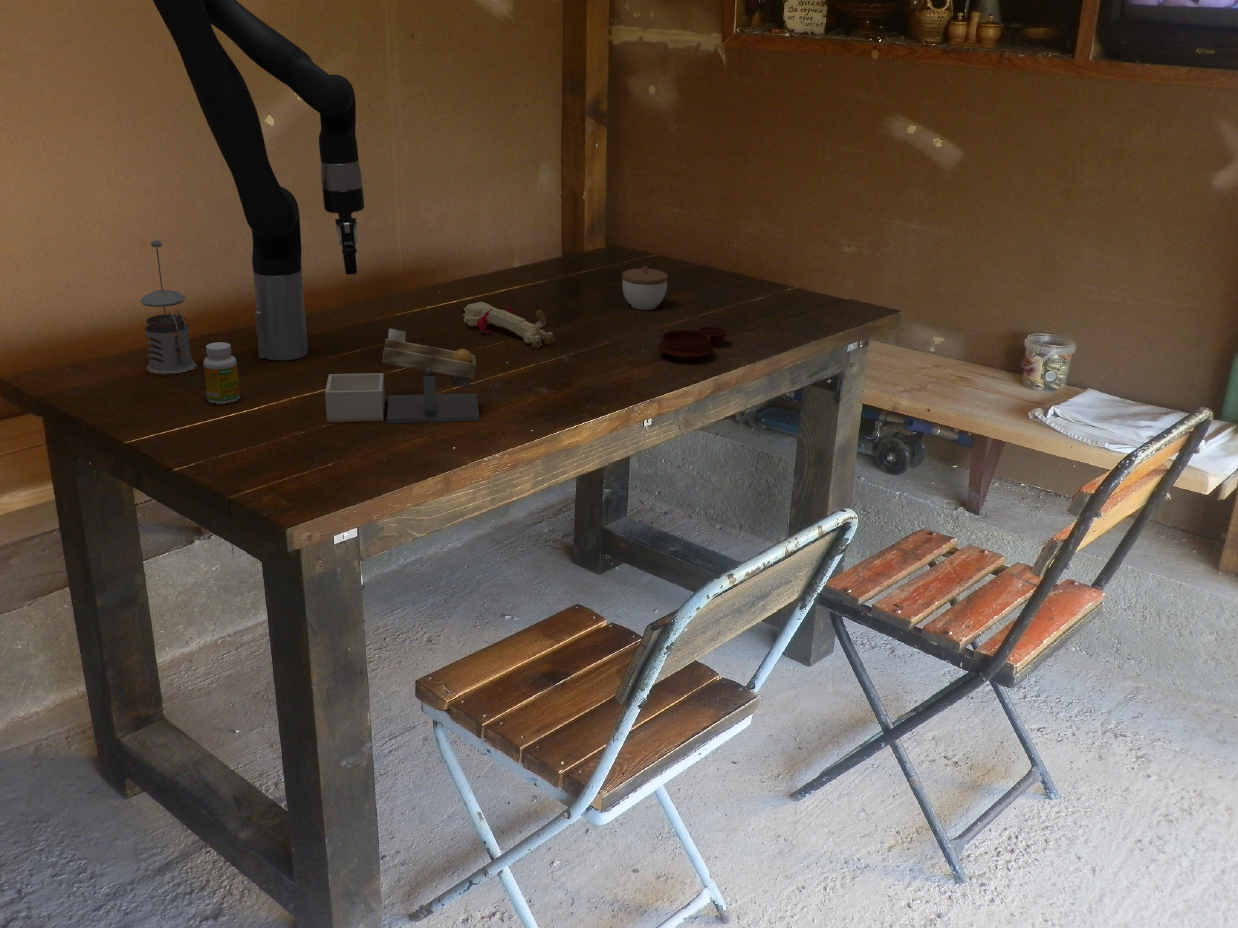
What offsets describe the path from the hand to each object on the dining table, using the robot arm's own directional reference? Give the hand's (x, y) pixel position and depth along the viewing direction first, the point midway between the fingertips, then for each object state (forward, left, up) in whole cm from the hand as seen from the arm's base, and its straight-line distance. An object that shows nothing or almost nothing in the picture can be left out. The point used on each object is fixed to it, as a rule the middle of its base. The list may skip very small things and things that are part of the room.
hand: (350, 268), depth 236 cm
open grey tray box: (+2, -32, -18) cm, 37 cm away
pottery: (+70, -1, -18) cm, 72 cm away
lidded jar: (+65, +34, -18) cm, 75 cm away
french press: (-34, -6, -18) cm, 39 cm away
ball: (+21, -32, -9) cm, 39 cm away
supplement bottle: (-22, -24, -18) cm, 37 cm away
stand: (+15, -32, -18) cm, 40 cm away
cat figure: (+31, +14, -19) cm, 39 cm away
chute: (+14, -29, -11) cm, 34 cm away
